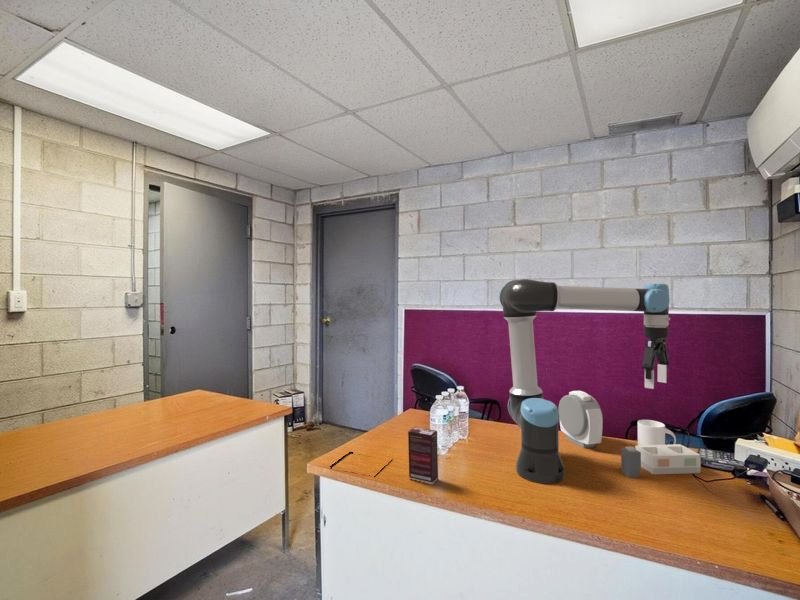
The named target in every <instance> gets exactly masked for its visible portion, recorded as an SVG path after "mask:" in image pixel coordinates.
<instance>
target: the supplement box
mask: <svg viewBox="0 0 800 600" xmlns="http://www.w3.org/2000/svg"><path fill="white" fill-rule="evenodd" d="M407 433H408V434H407V437H408V440H407V441H408V442H407V443H408V477H409V478H411V479H415V480H419V481H423V482H427V483H430V484H429V485H431V484H433V483H434V482H435V481H436V480H437V479H438V480H439V463H438V462H439V459H438V458H439V457H438V456H439V454H438V453H439V451H438V430H434V429H427V428H421V427H415V426H414V427H412V428H411V429H409V430H408V431H407ZM438 480H437V481H438ZM437 481H436V482H437ZM423 482H422V483H423ZM436 482H435V483H436ZM427 483H426V484H427ZM435 483H434V484H435ZM434 484H433V485H434Z"/></svg>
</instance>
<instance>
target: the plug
mask: <svg viewBox="0 0 800 600" xmlns="http://www.w3.org/2000/svg"><path fill="white" fill-rule="evenodd" d="M620 452H621V453H620V455H621V456H620V458H621V459H620V460H621V461H620V462H621V463H620V464H621V465H620V466H621V467H620V468H621V469H620V472H621V473H622V474H624V475H625V476H626V477H627V478H630V479H631V478H641V477H642V467H641V452H639V451H637V450H636V449H635V447H634V446H625V447H621V448H620Z"/></svg>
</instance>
